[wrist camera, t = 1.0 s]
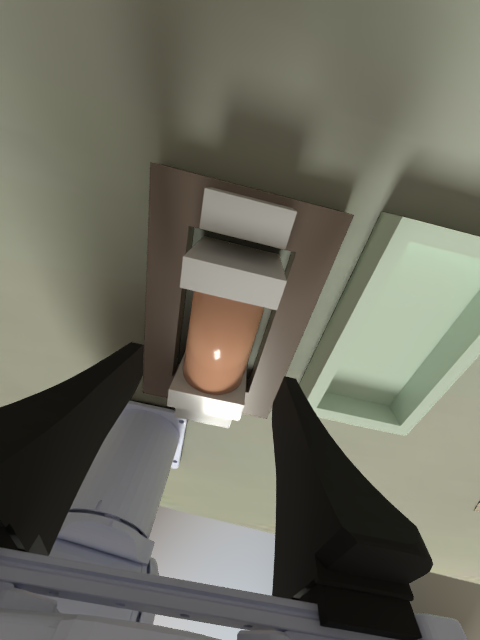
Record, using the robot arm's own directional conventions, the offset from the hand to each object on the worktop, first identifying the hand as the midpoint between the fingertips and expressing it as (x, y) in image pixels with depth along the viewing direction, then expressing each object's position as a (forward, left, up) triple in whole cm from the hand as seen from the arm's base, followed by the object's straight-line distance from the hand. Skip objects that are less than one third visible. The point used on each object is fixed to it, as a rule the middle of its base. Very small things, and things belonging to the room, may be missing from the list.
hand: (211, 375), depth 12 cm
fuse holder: (0, 0, -7) cm, 7 cm away
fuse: (0, 0, -7) cm, 7 cm away
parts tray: (+1, -12, -7) cm, 14 cm away
